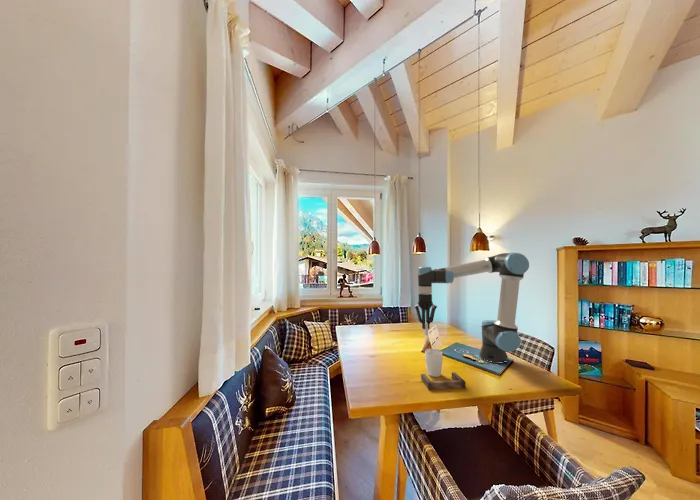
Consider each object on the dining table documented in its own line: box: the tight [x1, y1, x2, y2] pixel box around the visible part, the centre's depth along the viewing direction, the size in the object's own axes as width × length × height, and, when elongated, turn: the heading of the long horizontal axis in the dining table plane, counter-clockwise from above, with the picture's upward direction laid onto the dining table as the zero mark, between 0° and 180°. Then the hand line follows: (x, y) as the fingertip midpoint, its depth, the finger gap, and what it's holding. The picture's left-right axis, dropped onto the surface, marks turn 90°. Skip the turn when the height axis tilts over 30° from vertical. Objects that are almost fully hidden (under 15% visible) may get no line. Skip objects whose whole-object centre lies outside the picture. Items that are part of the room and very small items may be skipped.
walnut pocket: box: [420, 371, 466, 391], centre depth 126 cm, size 18×10×3 cm, turn 94°
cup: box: [424, 348, 444, 378], centre depth 137 cm, size 9×9×12 cm
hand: (425, 334), depth 148 cm, fingers closed
